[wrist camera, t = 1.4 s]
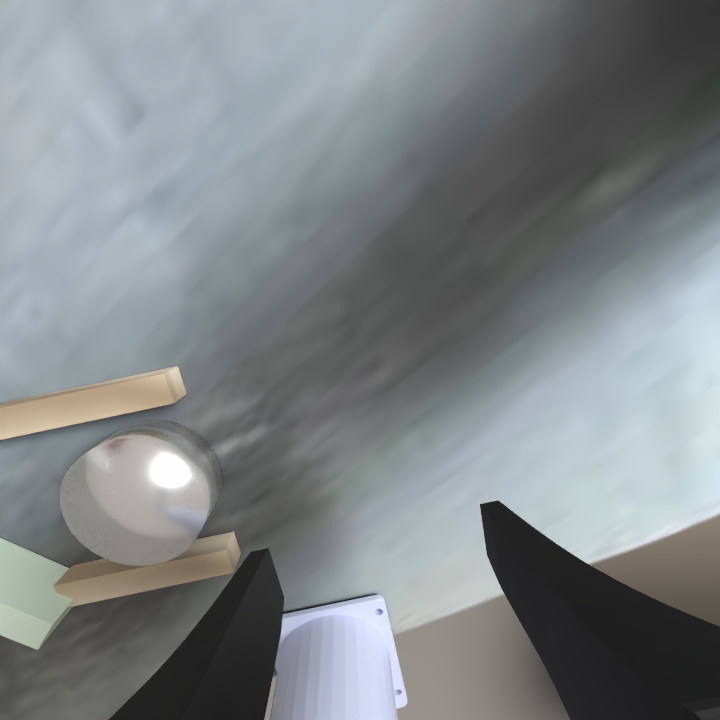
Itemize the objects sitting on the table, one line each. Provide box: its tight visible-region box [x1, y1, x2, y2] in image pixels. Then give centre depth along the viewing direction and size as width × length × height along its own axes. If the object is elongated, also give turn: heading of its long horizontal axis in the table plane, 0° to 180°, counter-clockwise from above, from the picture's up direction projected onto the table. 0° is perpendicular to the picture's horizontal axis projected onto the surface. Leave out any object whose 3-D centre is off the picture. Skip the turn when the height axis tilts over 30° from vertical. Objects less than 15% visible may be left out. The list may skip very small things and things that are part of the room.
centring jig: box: [0, 366, 241, 650], centre depth 19 cm, size 16×18×3 cm
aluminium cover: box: [59, 420, 223, 566], centre depth 19 cm, size 7×7×3 cm
